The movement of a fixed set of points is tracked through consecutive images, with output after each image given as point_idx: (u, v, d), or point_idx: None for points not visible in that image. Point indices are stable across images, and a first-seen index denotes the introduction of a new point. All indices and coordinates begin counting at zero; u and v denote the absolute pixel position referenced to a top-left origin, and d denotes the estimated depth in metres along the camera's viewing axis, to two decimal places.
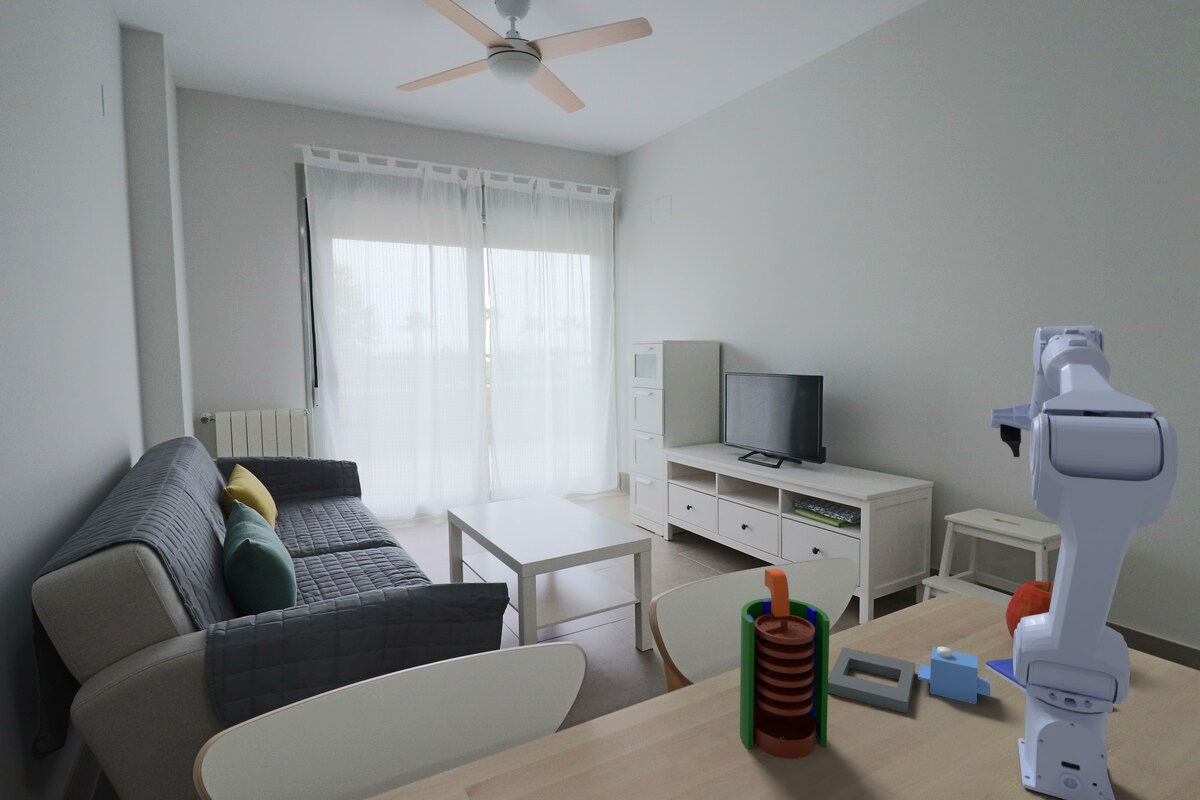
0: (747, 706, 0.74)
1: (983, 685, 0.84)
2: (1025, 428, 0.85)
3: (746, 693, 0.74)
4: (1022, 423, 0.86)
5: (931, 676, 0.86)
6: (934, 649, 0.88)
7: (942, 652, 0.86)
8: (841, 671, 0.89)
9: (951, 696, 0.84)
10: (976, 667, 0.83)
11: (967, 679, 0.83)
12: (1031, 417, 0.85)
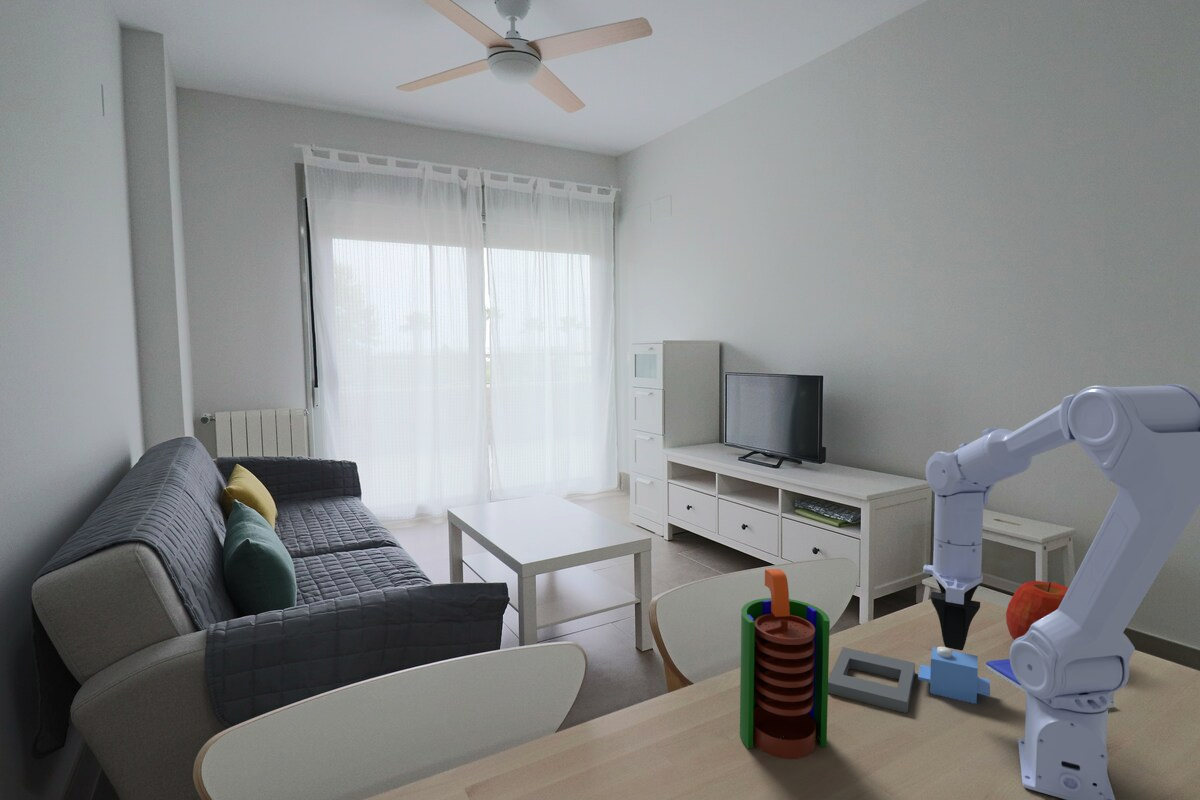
0: (747, 706, 0.74)
1: (983, 685, 0.84)
2: (973, 584, 0.81)
3: (746, 693, 0.74)
4: None
5: (931, 676, 0.86)
6: (934, 649, 0.88)
7: (942, 652, 0.86)
8: (841, 671, 0.89)
9: (951, 696, 0.84)
10: (976, 667, 0.83)
11: (967, 679, 0.83)
12: (964, 573, 0.82)
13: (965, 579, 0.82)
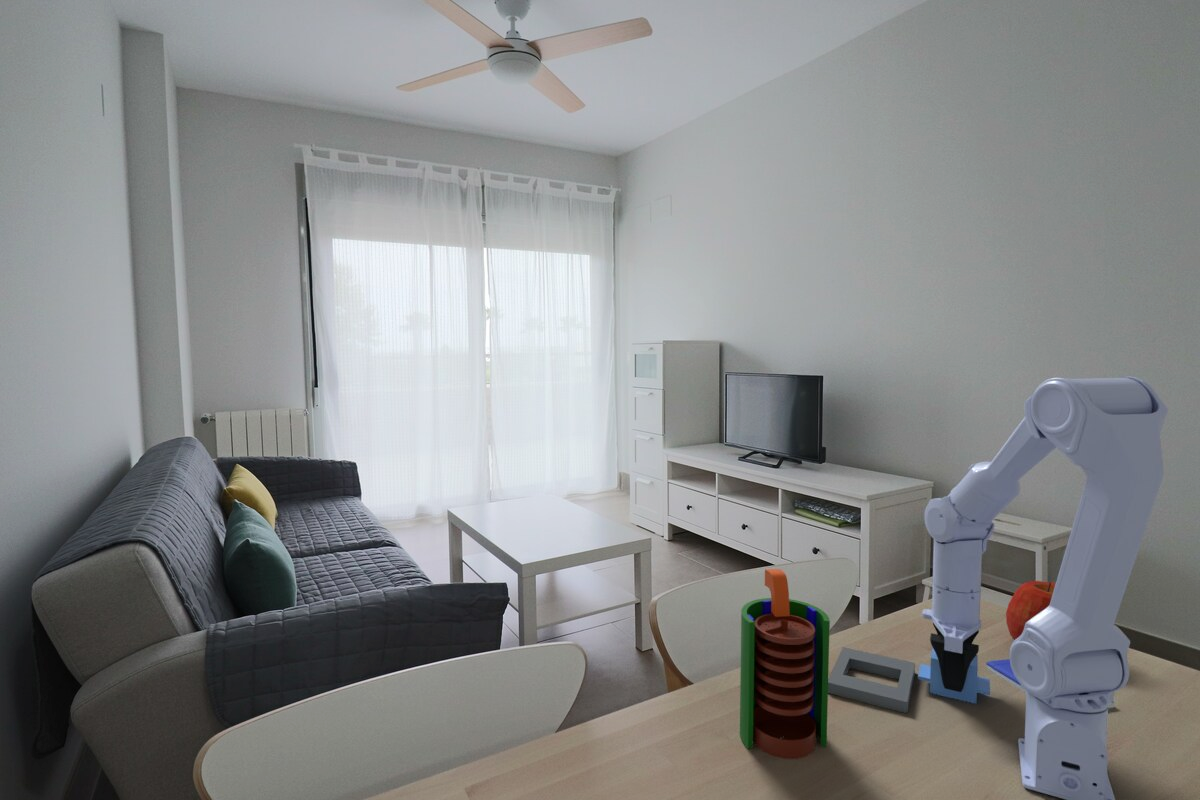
0: (747, 706, 0.74)
1: (983, 684, 0.84)
2: (972, 631, 0.82)
3: (746, 693, 0.74)
4: None
5: (931, 675, 0.86)
6: None
7: None
8: (841, 671, 0.89)
9: (951, 695, 0.84)
10: (976, 666, 0.83)
11: (967, 678, 0.83)
12: (962, 620, 0.83)
13: (964, 626, 0.82)
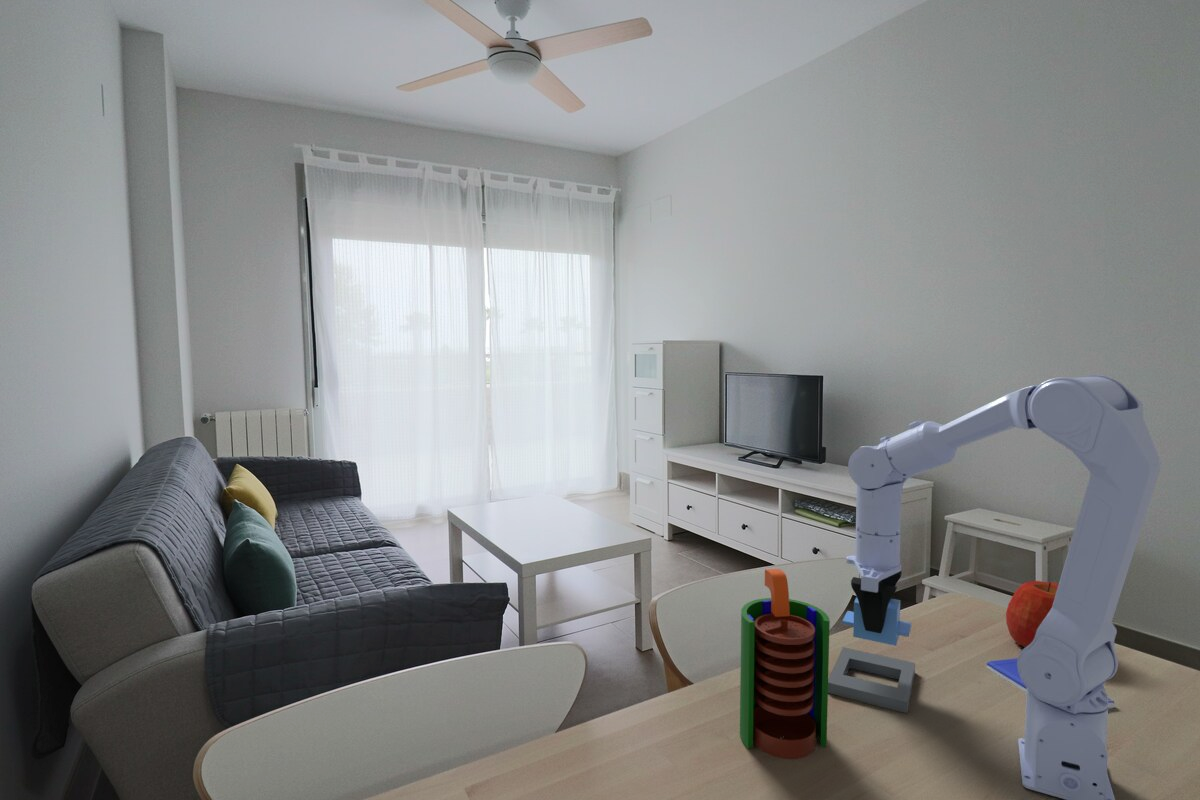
0: (747, 706, 0.74)
1: (904, 627, 0.86)
2: (890, 573, 0.84)
3: (746, 693, 0.74)
4: None
5: (854, 619, 0.88)
6: None
7: None
8: (841, 671, 0.89)
9: (873, 638, 0.87)
10: (896, 609, 0.85)
11: (887, 621, 0.85)
12: (881, 562, 0.85)
13: (882, 568, 0.85)
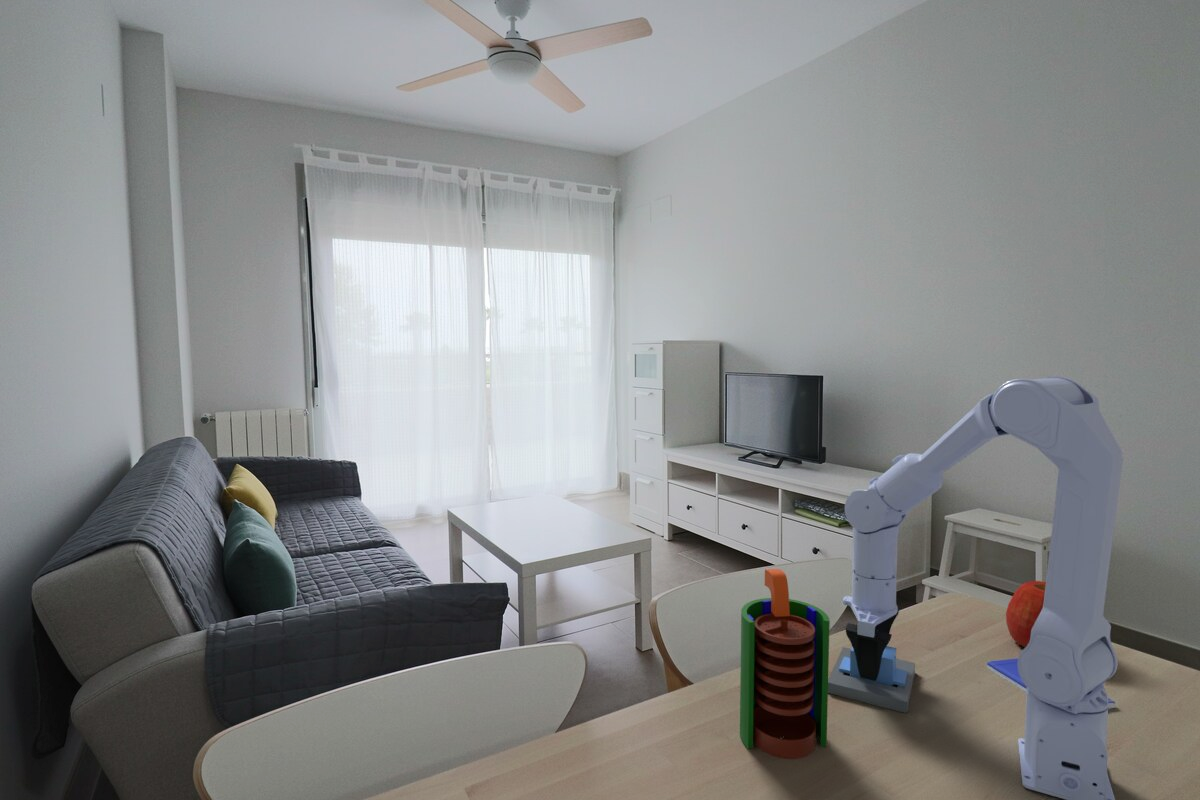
0: (747, 706, 0.74)
1: (900, 676, 0.87)
2: (886, 616, 0.84)
3: (746, 693, 0.74)
4: None
5: (851, 667, 0.88)
6: None
7: None
8: None
9: None
10: (892, 658, 0.86)
11: (883, 670, 0.86)
12: (878, 606, 0.85)
13: (879, 612, 0.85)
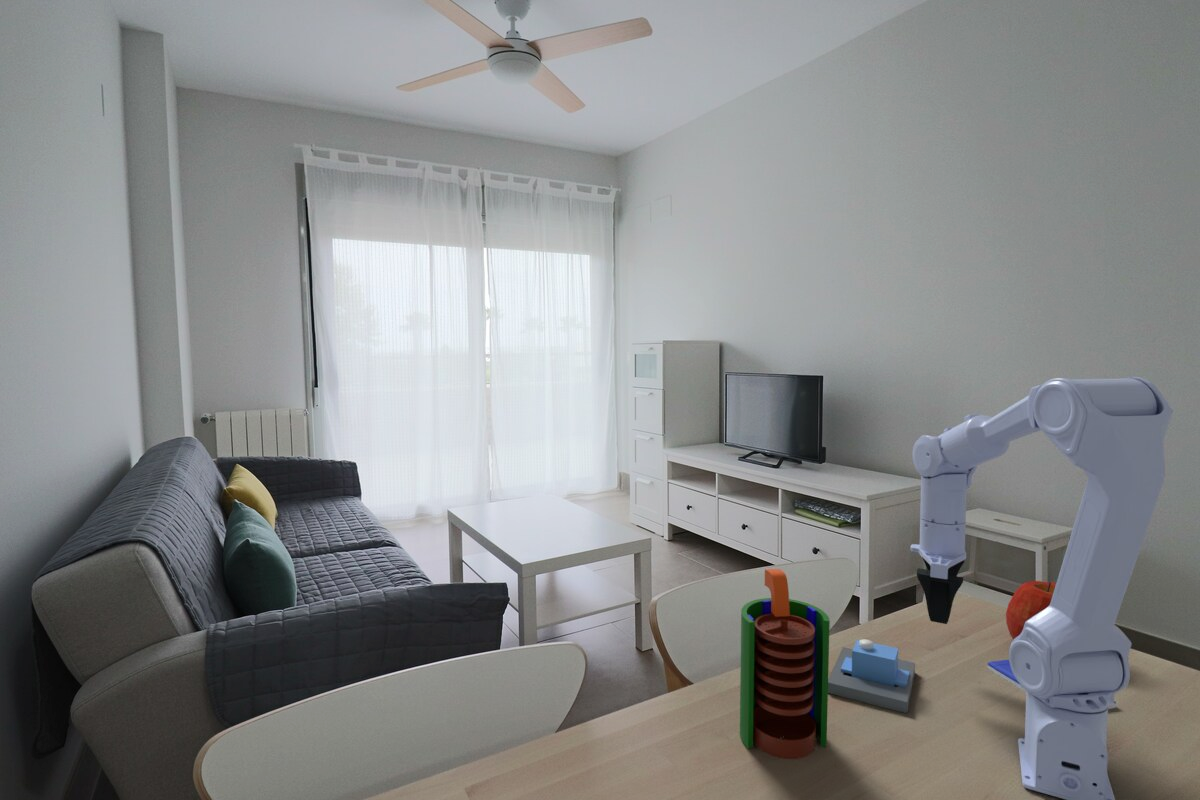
0: (747, 706, 0.74)
1: (901, 676, 0.86)
2: (957, 560, 0.85)
3: (746, 693, 0.74)
4: None
5: (852, 668, 0.88)
6: (858, 642, 0.91)
7: (863, 645, 0.88)
8: None
9: None
10: (894, 659, 0.85)
11: (885, 671, 0.86)
12: (948, 550, 0.86)
13: (949, 556, 0.86)
